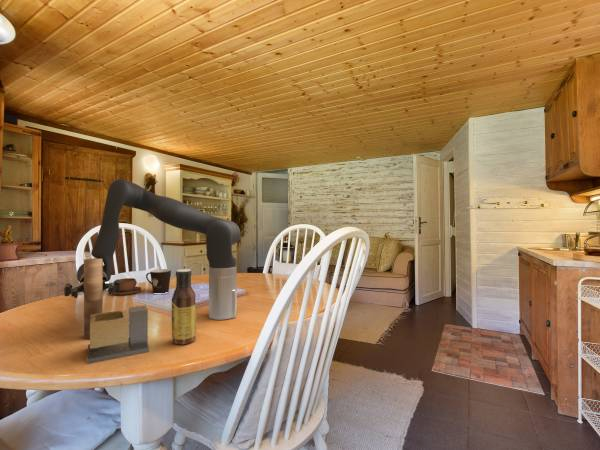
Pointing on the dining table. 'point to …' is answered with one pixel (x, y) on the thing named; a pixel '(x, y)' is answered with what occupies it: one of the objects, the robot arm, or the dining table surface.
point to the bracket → (118, 334)
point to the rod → (92, 291)
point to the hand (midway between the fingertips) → (93, 292)
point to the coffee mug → (160, 280)
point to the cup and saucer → (127, 287)
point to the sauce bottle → (183, 309)
